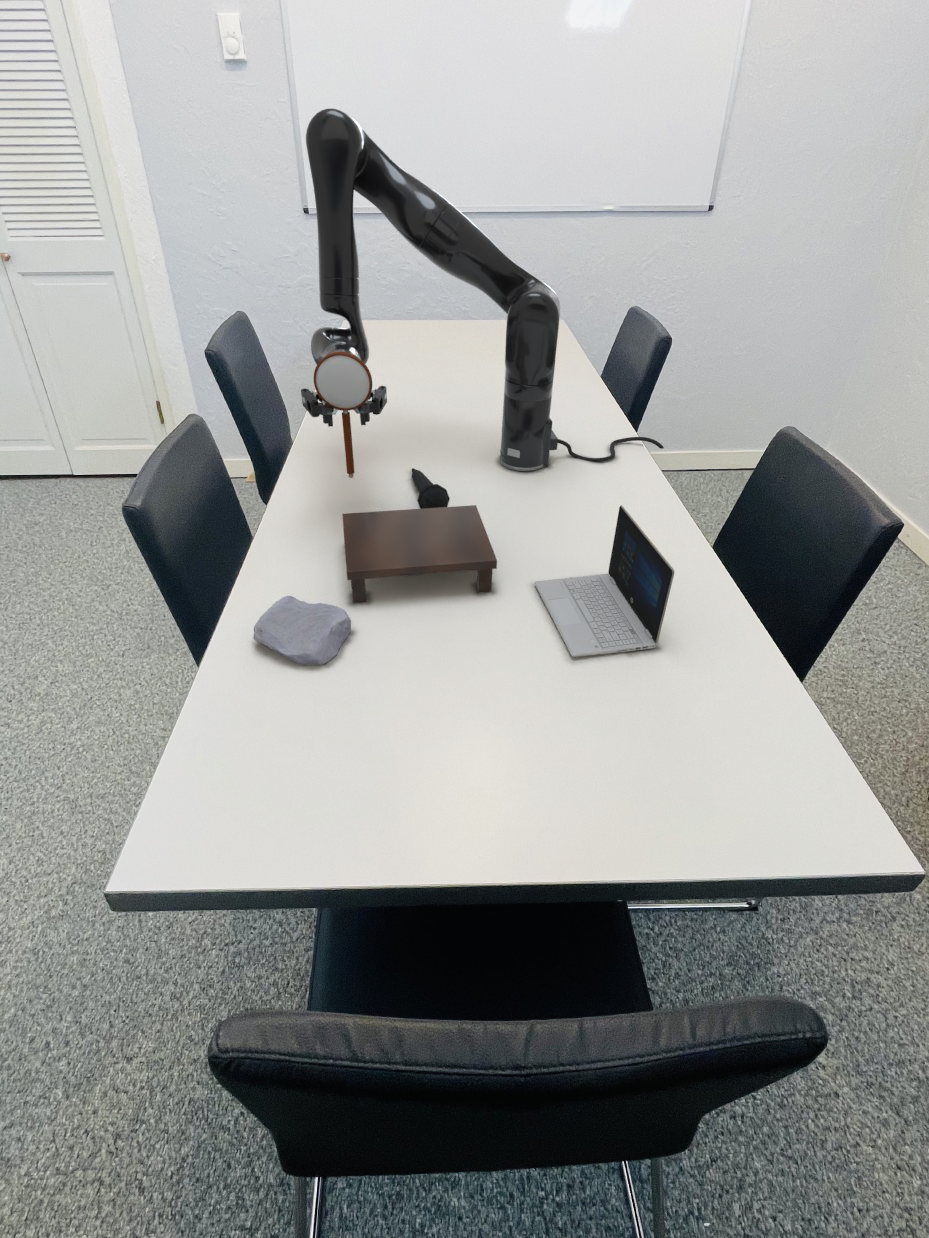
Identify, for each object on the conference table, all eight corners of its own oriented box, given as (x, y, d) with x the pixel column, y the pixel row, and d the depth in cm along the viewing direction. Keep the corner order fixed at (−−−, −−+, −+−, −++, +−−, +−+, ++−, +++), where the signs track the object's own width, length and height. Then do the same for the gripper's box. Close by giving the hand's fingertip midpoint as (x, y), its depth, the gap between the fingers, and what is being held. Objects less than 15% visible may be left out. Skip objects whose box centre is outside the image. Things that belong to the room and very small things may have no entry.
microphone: (405, 487, 142) (428, 525, 125) (394, 462, 138) (417, 497, 122) (430, 477, 142) (456, 513, 125) (420, 450, 139) (446, 484, 122)
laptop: (533, 585, 110) (540, 511, 103) (609, 577, 113) (622, 504, 105) (571, 660, 97) (583, 581, 89) (657, 648, 99) (676, 570, 91)
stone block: (326, 680, 95) (357, 626, 101) (317, 657, 91) (351, 602, 97) (249, 661, 98) (284, 610, 104) (238, 639, 94) (275, 587, 101)
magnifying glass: (323, 480, 114) (309, 353, 102) (325, 475, 115) (311, 349, 103) (377, 481, 114) (369, 355, 101) (378, 476, 115) (371, 351, 103)
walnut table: (474, 536, 122) (476, 505, 118) (495, 593, 109) (497, 560, 105) (345, 545, 119) (342, 513, 115) (349, 605, 105) (346, 571, 102)
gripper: (296, 358, 116) (294, 397, 102) (384, 355, 118) (393, 393, 104) (302, 402, 120) (300, 445, 107) (386, 399, 122) (395, 441, 109)
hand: (346, 419), depth 106 cm, fingers closed on magnifying glass, 4 cm apart
